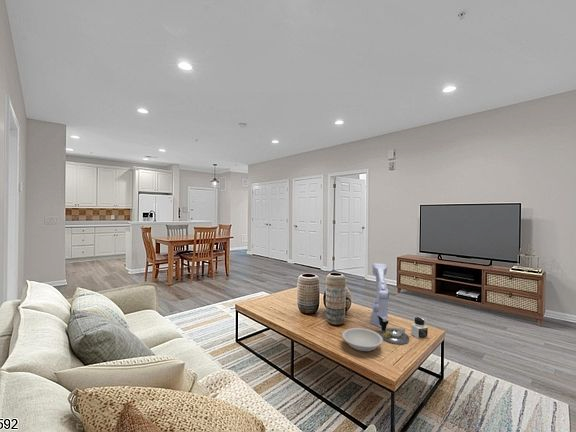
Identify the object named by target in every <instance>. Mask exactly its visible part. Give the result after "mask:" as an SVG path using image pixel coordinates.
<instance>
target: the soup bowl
mask: <svg viewBox="0 0 576 432" xmlns="http://www.w3.org/2000/svg"><path fill="white" fill-rule="evenodd" d="M341 336H342V339H343V340H344V341H345V342H346V343H347V344H348V345H349V346H350V347H351V348H352V349H355V350H356V351H361V352H369V351H370V352H371V351H373V350H376V348H378V346H380V345H382V344H383V342H384V340H383V338H382V337H381V335H380V333H378V332H376V331H374V330H371V329H368V328H361V327H351V328H347V329H345V330H344V331H342V334H341Z"/></svg>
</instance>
